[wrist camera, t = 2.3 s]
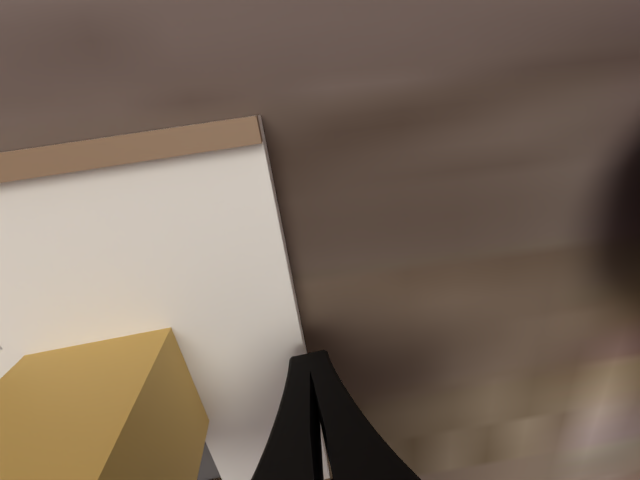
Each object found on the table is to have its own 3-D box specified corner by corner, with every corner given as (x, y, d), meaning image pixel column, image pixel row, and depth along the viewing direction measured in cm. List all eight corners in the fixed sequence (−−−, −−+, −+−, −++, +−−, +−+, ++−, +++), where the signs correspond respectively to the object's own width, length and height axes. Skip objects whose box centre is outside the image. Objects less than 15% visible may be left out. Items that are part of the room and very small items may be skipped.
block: (209, 420, 13) (173, 588, 8) (87, 447, 13) (-20, 637, 8) (171, 327, 11) (97, 481, 6) (24, 355, 11) (-165, 538, 6)
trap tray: (325, 447, 18) (337, 529, 14) (-85, 540, 16) (-183, 658, 13) (260, 114, 11) (253, 116, 7) (-489, 223, 9) (-973, 293, 5)
